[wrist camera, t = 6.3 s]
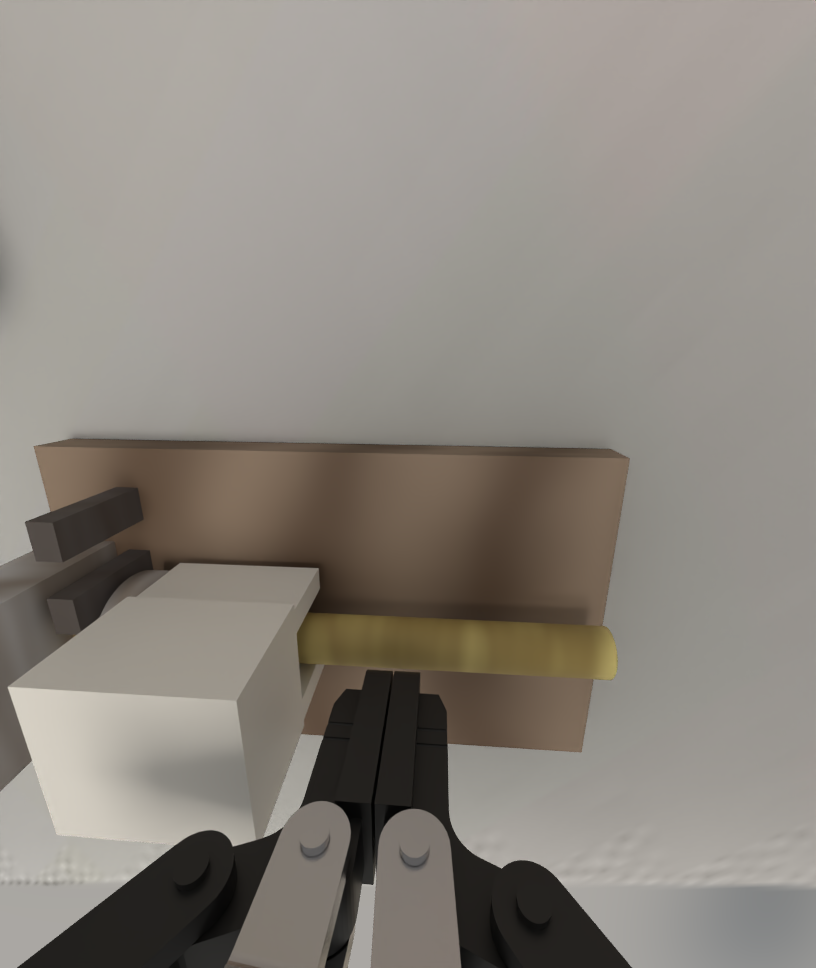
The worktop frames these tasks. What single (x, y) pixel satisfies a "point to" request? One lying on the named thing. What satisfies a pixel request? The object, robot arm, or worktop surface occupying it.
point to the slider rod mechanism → (347, 566)
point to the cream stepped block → (174, 707)
